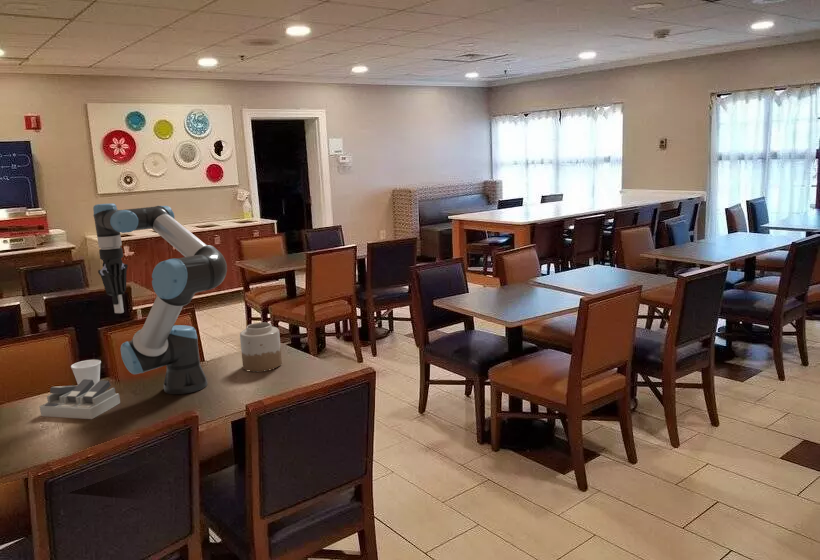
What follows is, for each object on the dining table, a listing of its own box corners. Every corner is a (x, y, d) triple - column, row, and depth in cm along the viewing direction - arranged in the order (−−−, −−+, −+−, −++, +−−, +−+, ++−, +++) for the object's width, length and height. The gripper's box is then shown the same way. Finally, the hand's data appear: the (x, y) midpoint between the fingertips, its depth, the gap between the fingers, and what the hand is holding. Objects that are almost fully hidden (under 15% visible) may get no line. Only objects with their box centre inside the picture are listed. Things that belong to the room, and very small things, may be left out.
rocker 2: (94, 384, 223) (92, 379, 222) (78, 401, 216) (75, 396, 215) (85, 383, 224) (83, 379, 223) (69, 401, 217) (66, 396, 216)
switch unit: (120, 402, 224) (118, 386, 223) (91, 419, 211) (89, 402, 210) (71, 400, 229) (69, 384, 228) (41, 416, 216) (38, 399, 214)
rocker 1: (78, 391, 225) (79, 385, 225) (59, 393, 216) (59, 387, 216) (70, 391, 226) (70, 385, 226) (50, 393, 217) (50, 386, 217)
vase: (289, 364, 257) (286, 324, 254) (257, 375, 247) (253, 333, 243) (267, 357, 268) (264, 318, 265) (235, 367, 257) (231, 327, 254)
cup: (93, 397, 231) (88, 368, 228) (68, 396, 233) (64, 368, 230) (110, 387, 240) (106, 359, 238) (87, 387, 242) (83, 359, 240)
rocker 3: (110, 385, 222) (108, 380, 221) (94, 402, 214) (92, 396, 213) (101, 385, 223) (99, 380, 222) (85, 401, 215) (82, 396, 214)
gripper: (113, 245, 234) (122, 308, 238) (88, 250, 221) (97, 317, 226) (131, 244, 232) (140, 308, 236) (106, 250, 219) (116, 317, 224)
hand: (119, 312), depth 231 cm, fingers closed
